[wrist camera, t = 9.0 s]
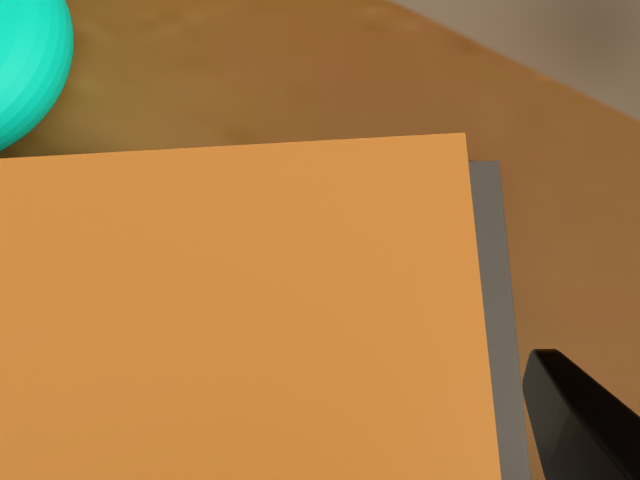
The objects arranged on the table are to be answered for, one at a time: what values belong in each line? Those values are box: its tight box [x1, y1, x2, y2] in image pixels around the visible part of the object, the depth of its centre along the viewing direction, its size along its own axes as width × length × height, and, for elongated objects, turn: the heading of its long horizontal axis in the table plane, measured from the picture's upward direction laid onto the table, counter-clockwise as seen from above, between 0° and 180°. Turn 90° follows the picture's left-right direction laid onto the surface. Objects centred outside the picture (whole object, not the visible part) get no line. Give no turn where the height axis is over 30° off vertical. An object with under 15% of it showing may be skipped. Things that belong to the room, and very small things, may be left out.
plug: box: [0, 133, 501, 480], centre depth 10 cm, size 5×5×13 cm
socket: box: [468, 161, 531, 480], centre depth 16 cm, size 14×14×4 cm
